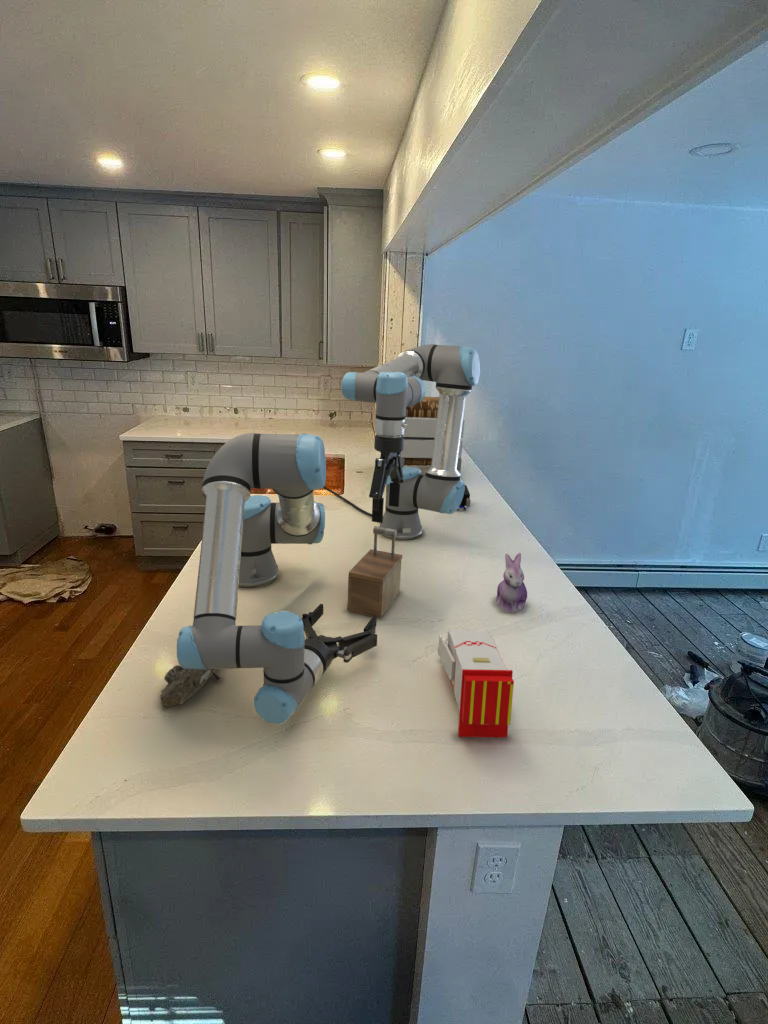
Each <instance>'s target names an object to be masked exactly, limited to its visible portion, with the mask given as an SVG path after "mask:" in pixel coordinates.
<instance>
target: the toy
mask: <svg viewBox="0 0 768 1024" xmlns="http://www.w3.org/2000/svg"><path fill="white" fill-rule="evenodd" d="M446 640H447V643H446V641H445V639H444V636H443V635H442V634H439V637H438V646H437V656H438V657H439V659H440V661H441V663H442V666H443V668H444V670H445V672H446V674H447V677H448V679H449V681H450V684H451V687H452V690H453V693H454V697H455V701H456V705H457V708H458V711H459V714H458V715H459V716H458V730H457V731H458V732H457V737H458V738H508V731H509V726H510V725H511V717H512V707H513V697H514V696H513V695H514V684H515V680H514V679H513V673H514V671H513V670H512V669H508V667H507V665H506V662H505V661H504V659H503V658H502V655H501V653H500V651H499V649H498V647H497V643H496V639H495V637H494V635H493V634H491V632H490V631H489V629H467V628H466V629H465V628H463V629H461V628H460V629H459V628H448V630H447V639H446Z"/></svg>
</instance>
